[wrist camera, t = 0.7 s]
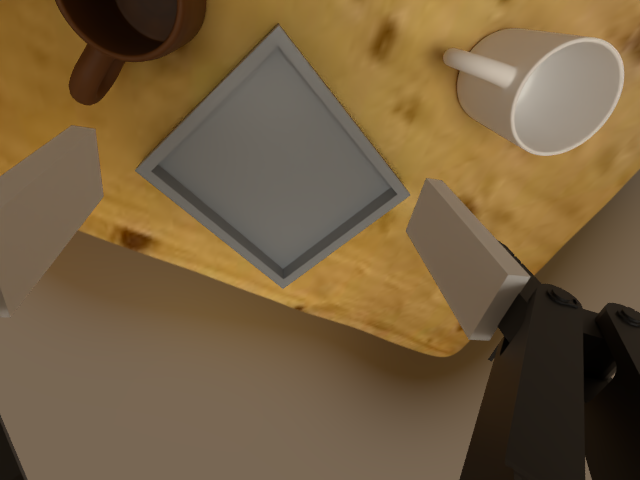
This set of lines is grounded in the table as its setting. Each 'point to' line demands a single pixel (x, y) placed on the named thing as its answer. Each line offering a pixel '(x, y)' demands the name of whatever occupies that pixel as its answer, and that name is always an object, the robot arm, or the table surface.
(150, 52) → the mug
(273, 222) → the tray
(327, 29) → the table surface
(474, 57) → the mug
